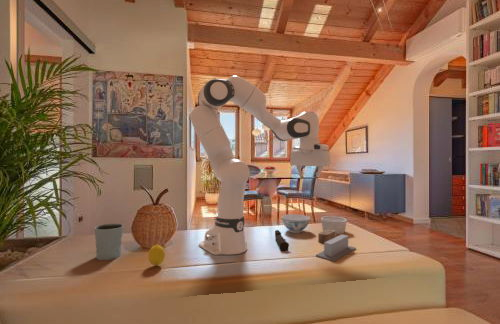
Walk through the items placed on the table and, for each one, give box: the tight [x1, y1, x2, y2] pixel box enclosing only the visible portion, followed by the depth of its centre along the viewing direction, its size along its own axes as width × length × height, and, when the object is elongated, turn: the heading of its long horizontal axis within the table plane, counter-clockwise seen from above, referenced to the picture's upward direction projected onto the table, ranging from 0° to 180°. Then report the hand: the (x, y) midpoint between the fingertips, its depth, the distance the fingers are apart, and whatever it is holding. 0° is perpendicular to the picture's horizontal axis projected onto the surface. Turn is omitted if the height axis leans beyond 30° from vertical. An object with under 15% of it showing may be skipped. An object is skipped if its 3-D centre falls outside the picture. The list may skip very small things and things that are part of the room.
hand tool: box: [274, 229, 290, 252], centre depth 126 cm, size 19×4×5 cm, turn 3°
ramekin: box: [320, 215, 348, 235], centre depth 147 cm, size 13×13×7 cm
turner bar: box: [323, 234, 349, 257], centre depth 115 cm, size 3×16×5 cm, turn 137°
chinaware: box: [281, 213, 311, 234], centre depth 147 cm, size 15×15×8 cm
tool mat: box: [315, 245, 357, 262], centre depth 115 cm, size 8×20×1 cm, turn 137°
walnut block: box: [317, 229, 337, 244], centre depth 132 cm, size 4×4×10 cm
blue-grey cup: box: [94, 223, 124, 261], centre depth 109 cm, size 10×10×12 cm
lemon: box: [148, 243, 166, 267], centre depth 100 cm, size 6×6×8 cm
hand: (309, 175), depth 130 cm, fingers open, 8 cm apart
